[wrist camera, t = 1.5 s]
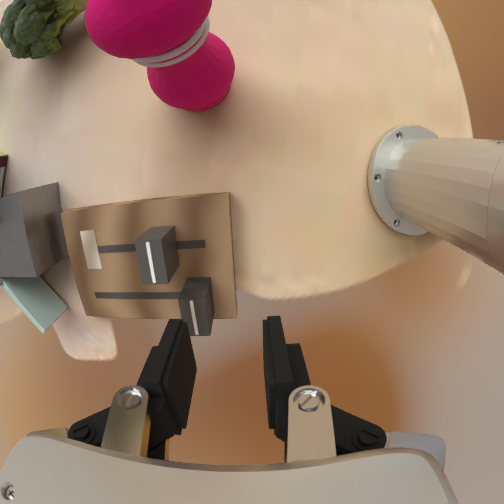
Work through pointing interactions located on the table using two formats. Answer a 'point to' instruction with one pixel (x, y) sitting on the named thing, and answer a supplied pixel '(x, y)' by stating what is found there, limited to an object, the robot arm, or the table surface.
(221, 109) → the table surface
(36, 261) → the box
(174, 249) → the fader knob
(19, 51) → the vegetable
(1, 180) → the protein box
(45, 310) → the door
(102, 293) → the fader board
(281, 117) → the table surface
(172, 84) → the pepper mill
